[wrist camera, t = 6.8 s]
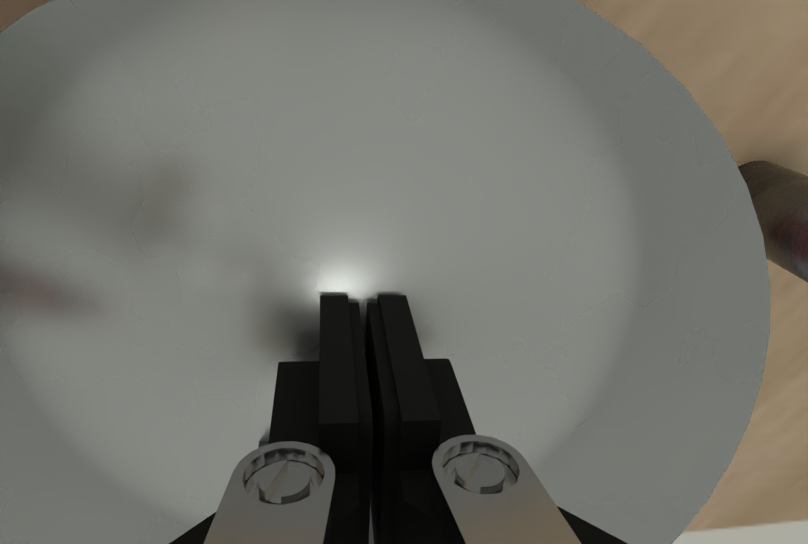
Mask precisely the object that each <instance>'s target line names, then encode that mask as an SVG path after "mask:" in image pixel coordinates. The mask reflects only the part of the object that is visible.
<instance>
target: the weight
mask: <svg viewBox="0 0 808 544" xmlns="http://www.w3.org/2000/svg"><path fill="white" fill-rule="evenodd" d="M738 169H739V171H740V173H741V175H742V177H743V179H744V181H745V183H746V184H747V187H748V190H749V193H750V196H751V200H752V203H753V206H754V209H755V212H756V215H757V218H758V221H759V225H760V228H761V231H762V234H763V239H764V246H765V252H766V258H767V259H768V260H770V261H772V262H774V263H775V264H777V265H779V266H780V267H782V268H784V269H786V270H787V271H789V272H791V273H793V274H794V275H796V276H798V277H799V278H801V279H803V280H805V281H806V282H808V176H806V175H803V174H800V173H797V172H795V171H792V170H789V169H786V168H784V167H781V166H778V165H775V164H773V163H770V162H766V161H755V162H750V163H747V164H744V165H742V166H740V167H738Z"/></svg>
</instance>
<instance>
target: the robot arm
mask: <svg viewBox="0 0 808 544" xmlns="http://www.w3.org/2000/svg"><path fill="white" fill-rule="evenodd" d="M370 507H371V517H372V528H373V538H374V544H628V543H626V542H624V541H622V540H620V539H618V538H616V537H615V536H613V535H611V534H609V533H607V532H605V531H603V530H601V529H600V528H598V527H596V526H594V525H592V524H590V523H588V522H586V521H585V520H583V519H581V518H579V517H577V516H575V515H573V514H572V513H570V512H568V511H566V510H564V509H562V508H560V507H558V506H557V505H555V503H554V502H553V500H552V499H551V497H550V496H549V494H548V492H547V491H546V489H545V488H544V486H543V485H542V483H541V482H540V480H539V479H538V477H537V476H536V474H535V473H534V471H533V470H532V468H531V467H530V465H529V464H528V462H527V461H526V459H525V458H524V457H523V456H522V455H521V454H520V453H519V452H518V450H516V449H515V448H513V447H512V446H510V445H509V444H507V443H506V442H503V441H501V440H498V439H496V438H493V437H488V436H483V435H476V432H475V429H474V426H473V424H472V421H471V418H470V415H469V412H468V410H467V407H466V404H465V401H464V398H463V395H462V393H461V390H460V387H459V384H458V381H457V379H456V376H455V373H454V370H453V367H452V364H451V362H450V360H449V359H447V358H442V359H424V357H423V353H422V350H421V346H420V343H419V339H418V335H417V332H416V328H415V325H414V321H413V318H412V314H411V311H410V307H409V304H408V300H407V297H406V295H378V298H377V303H367V313H366V345H365V349H364V341H363V332H362V324H361V316H360V307H359V303H349V302H348V295H339V296H320V352H319V361H287V362H279V363H278V369H277V377H276V385H275V393H274V401H273V409H272V417H271V425H270V434H269V442H268V445H264V446H262V447H260V448H258V449H256V450H254V451H251V452H250V453H249V454H247V455H246V456H245V457H244V458H243V459H241V460H240V461H239V463H238V464H237V466H236V468H235V469H234V471H233V473H232V475H231V478H230V480H229V482H228V485H227V487H226V490H225V492H224V495H223V497H222V500H221V502H220V504H219V507H218V509H217V511H216V512H215V513H213V514H212V515H210V516H209V517H207V518H206V519H205V520H203V521H202V522H200V523H199V524H197V525H196V526H194V527H193V528H191V529H190V530H188V531H187V532H185V533H184V534H182V535H181V536H179V537H178V538H177V539H175V540H174V541H172V542H171V543H169V544H369V524H370Z"/></svg>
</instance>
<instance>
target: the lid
mask: <svg viewBox="0 0 808 544" xmlns="http://www.w3.org/2000/svg"><path fill="white" fill-rule="evenodd" d="M339 295H348V302H349V303H359V307H360V316H361V324H362V332H363V341H364V349H365V345H366V313H367V303H377V298H378V295H406V297H407V300H408V304H409V307H410V311H411V314H412V318H413V321H414V325H415V328H416V332H417V335H418V339H419V343H420V346H421V350H422V353H423V357H424V359H442V358H447V359H449V360H450V362H451V364H452V367H453V370H454V373H455V376H456V379H457V381H458V384H459V387H460V390H461V393H462V395H463V398H464V401H465V404H466V407H467V410H468V412H469V415H470V418H471V421H472V424H473V426H474V429H475V432H476V435H483V436H488V437H493V438H496V439H498V440H501V441H503V442H506V443H507V444H509V445H510V446H512V447H513V448H515V449H516V450H518V452H519V453H520V454H521V455H522V456H523V457H524V458H525V459H526V461H527V462H528V464H529V465H530V467H531V468H532V470H533V471H534V473H535V474H536V476H537V477H538V479H539V480H540V482H541V483H542V485H543V486H544V488H545V489H546V491H547V492H548V494H549V496H550V497H551V499H552V500H553V502H554V503H555V505H557V506H558V507H560V508H562V509H564V510H566V511H568V512H570V513H572V514H573V515H575V516H577V517H579V518H581V519H583V520H585V521H586V522H588V523H590V524H592V525H594V526H596V527H598V528H600V529H601V530H603V531H605V532H607V533H609V534H611V535H613V536H615V537H616V538H618V539H620V540H622V541H624V542H626V543H628V544H672V543H673V542H674V541H675V540H676V539H677V538H678V537H679V536H680V534H681V533H682V532H683V531H684V530H685V528H686V527H687V526H688V524H689V523H690V522H691V521H692V519H693V518H694V517H695V515H696V514H697V513H698V512H699V510H700V509H701V508H702V506H703V505H704V504H705V503H706V501H707V500H708V499H709V497H710V495H711V494H712V492H713V490H714V489H715V487H716V485H717V484H718V482H719V481H720V479H721V477H722V476H723V474H724V472H725V471H726V469H727V467H728V466H729V464H730V463H731V461H732V458H733V456H734V454H735V452H736V450H737V447H738V445H739V443H740V441H741V439H742V436H743V434H744V432H745V430H746V428H747V426H748V423H749V421H750V418H751V414H752V411H753V408H754V405H755V401H756V398H757V395H758V392H759V388H760V385H761V382H762V379H763V372H764V366H765V360H766V354H767V347H768V341H769V335H770V280H769V273H768V266H767V259H766V252H765V246H764V239H763V234H762V231H761V228H760V225H759V221H758V218H757V215H756V212H755V209H754V206H753V203H752V200H751V196H750V193H749V190H748V187H747V184H746V183H745V181H744V179H743V177H742V175H741V173H740V171H739V169H738V167H737V165H736V163H735V161H734V159H733V157H732V155H731V153H730V151H729V149H728V147H727V145H726V144H725V142H724V140H723V138H722V136H721V134H720V133H719V132H718V130H717V129H716V128H715V126H714V125H713V124H712V122H711V121H710V120H709V118H708V117H707V116H706V114H705V113H704V112H703V110H702V109H701V108H700V106H699V105H698V104H697V102H696V101H695V100H694V98H693V97H692V95H691V94H690V93H689V91H688V90H687V89H686V87H684V86H683V85H682V84H681V83H680V82H679V81H678V80H677V79H676V78H675V77H674V76H673V75H672V74H671V73H670V72H669V71H668V70H667V69H666V68H665V67H664V66H663V65H662V64H661V63H660V62H658V61H657V60H656V59H655V58H654V57H653V56H652V55H651V54H650V53H649V52H648V51H647V50H646V49H645V48H644V47H643V46H642V45H641V44H640V43H639V42H637V41H636V40H634V39H633V38H631V37H630V36H628V35H627V34H626V33H624V32H623V31H621V30H620V29H618V28H617V27H615V26H614V25H613V24H611V23H610V22H608V21H607V20H605V19H604V18H602V17H601V16H600V15H598V14H597V13H595V12H594V11H592V10H591V9H589V8H588V7H587V6H585V5H584V4H582V3H580V2H578V1H576V0H52V1H50V2H48V3H46V4H44V5H42V6H40V7H38V8H36V9H34V10H32V11H30V12H28V13H27V14H25V15H24V16H23V17H21V18H20V19H18V20H17V21H16V22H14V23H13V24H11V25H10V26H9V27H7V28H6V29H4V30H3V31H2V32H0V544H169V543H171V542H172V541H174V540H175V539H177V538H178V537H179V536H181V535H182V534H184V533H185V532H187V531H188V530H190V529H191V528H193V527H194V526H196V525H197V524H199V523H200V522H202V521H203V520H205V519H206V518H207V517H209V516H210V515H212V514H213V513H215V512H216V511H217V509H218V507H219V504H220V502H221V500H222V497H223V495H224V492H225V490H226V487H227V485H228V482H229V480H230V478H231V475H232V473H233V471H234V469H235V468H236V466H237V464H238V463H239V461H240V460H241V459H243V458H244V457H245V456H246V455H247V454H249V453H250V452H251V451H254V450H256V449H258V448H260V447H262V446H264V445H268V442H269V434H270V425H271V417H272V409H273V401H274V393H275V385H276V377H277V369H278V363H279V362H287V361H319V352H320V296H339ZM369 544H374V538H373V528H372V517H371V507H370V524H369Z"/></svg>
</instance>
